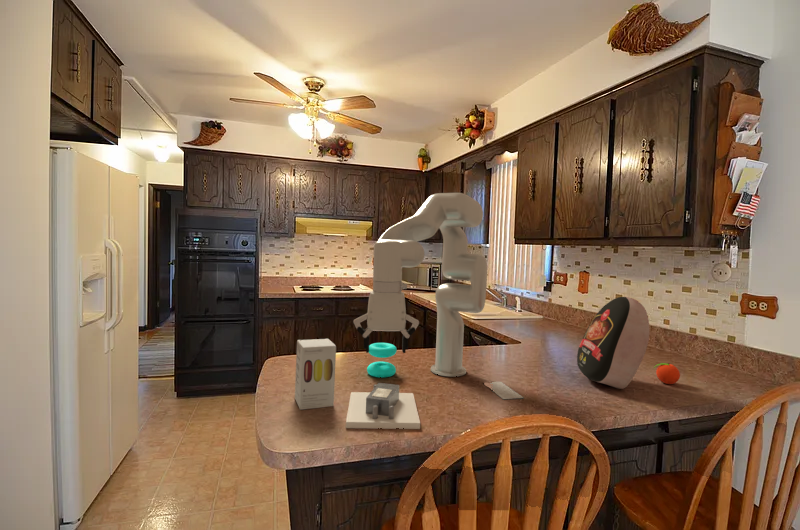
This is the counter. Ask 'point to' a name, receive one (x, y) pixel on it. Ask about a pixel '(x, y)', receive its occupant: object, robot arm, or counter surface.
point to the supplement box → (315, 373)
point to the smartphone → (505, 391)
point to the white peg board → (398, 416)
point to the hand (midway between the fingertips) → (385, 351)
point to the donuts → (381, 367)
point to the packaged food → (615, 343)
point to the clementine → (667, 373)
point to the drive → (382, 398)
